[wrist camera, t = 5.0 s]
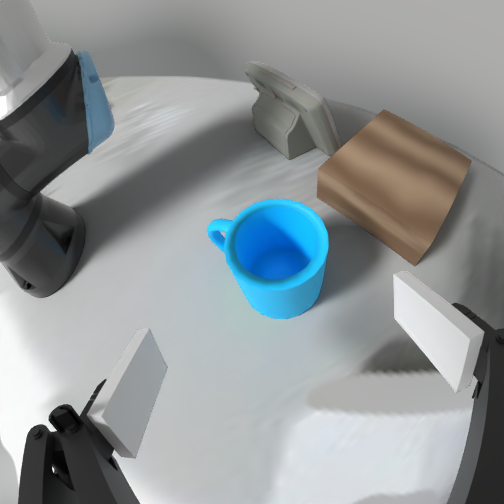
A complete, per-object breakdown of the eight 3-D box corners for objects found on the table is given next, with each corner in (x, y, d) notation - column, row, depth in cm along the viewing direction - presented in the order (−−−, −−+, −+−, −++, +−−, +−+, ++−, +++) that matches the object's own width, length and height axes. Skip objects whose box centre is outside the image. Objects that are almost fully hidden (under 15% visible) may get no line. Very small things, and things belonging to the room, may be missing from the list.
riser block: (414, 266, 27) (431, 243, 23) (316, 197, 33) (318, 168, 29) (458, 185, 31) (471, 160, 27) (379, 135, 37) (383, 109, 33)
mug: (334, 264, 29) (344, 220, 22) (298, 333, 26) (298, 310, 19) (238, 222, 33) (222, 174, 26) (199, 280, 31) (169, 242, 24)
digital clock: (346, 159, 36) (353, 93, 26) (285, 179, 35) (278, 111, 26) (295, 101, 44) (290, 47, 34) (245, 116, 43) (233, 61, 34)
